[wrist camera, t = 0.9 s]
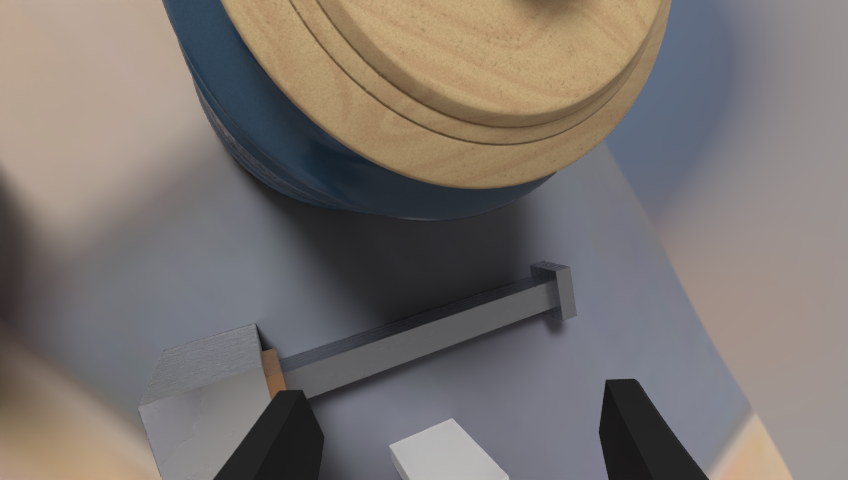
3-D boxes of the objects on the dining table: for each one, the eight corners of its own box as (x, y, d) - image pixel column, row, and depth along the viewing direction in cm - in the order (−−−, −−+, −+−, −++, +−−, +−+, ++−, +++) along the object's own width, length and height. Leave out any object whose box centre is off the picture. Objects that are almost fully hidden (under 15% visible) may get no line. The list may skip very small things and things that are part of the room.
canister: (127, 97, 19) (-453, -429, 3) (298, -127, 21) (518, -1230, 5) (374, 256, 24) (663, 384, 8) (496, 63, 26) (941, -161, 10)
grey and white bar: (553, 328, 29) (628, 359, 24) (177, 475, 21) (157, 573, 16) (540, 237, 28) (615, 248, 22) (139, 357, 20) (102, 418, 15)
